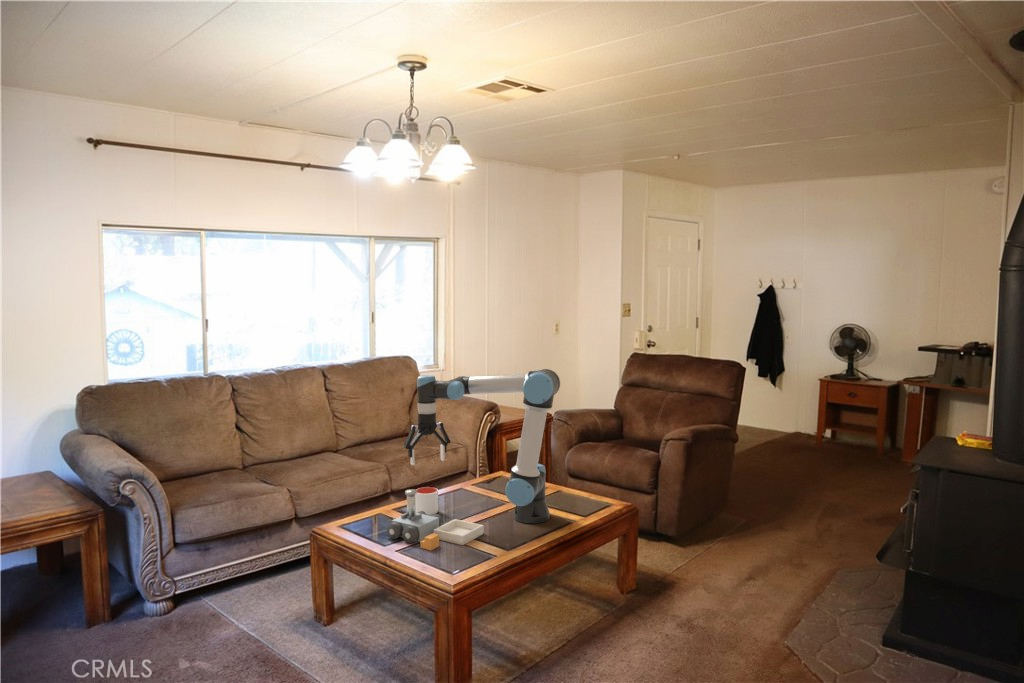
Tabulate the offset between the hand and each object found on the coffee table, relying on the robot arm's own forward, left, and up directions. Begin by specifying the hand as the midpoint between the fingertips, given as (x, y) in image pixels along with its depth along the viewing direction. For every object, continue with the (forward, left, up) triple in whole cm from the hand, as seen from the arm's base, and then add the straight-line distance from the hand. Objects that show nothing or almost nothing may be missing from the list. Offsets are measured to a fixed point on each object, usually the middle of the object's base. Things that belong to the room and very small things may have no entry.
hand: (427, 462), depth 283 cm
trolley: (-7, +16, -24) cm, 30 cm away
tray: (-23, +9, -24) cm, 34 cm away
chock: (-20, +24, -24) cm, 40 cm away
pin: (-5, +16, -18) cm, 25 cm away
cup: (+5, -5, -24) cm, 26 cm away
